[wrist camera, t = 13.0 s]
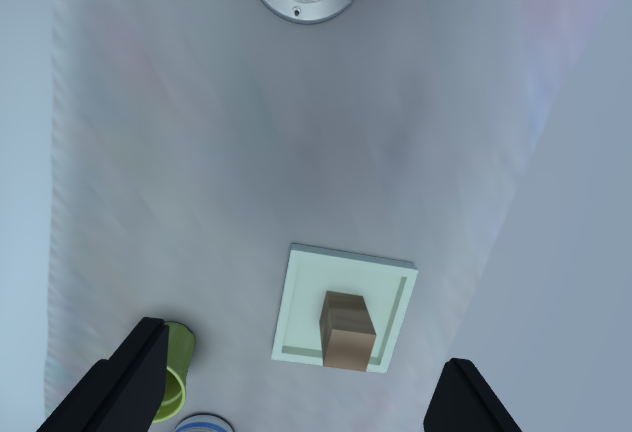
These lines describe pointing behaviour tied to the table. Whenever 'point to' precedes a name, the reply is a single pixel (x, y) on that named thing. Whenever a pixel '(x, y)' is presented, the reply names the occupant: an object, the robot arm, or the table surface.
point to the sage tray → (345, 277)
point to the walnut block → (346, 332)
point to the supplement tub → (203, 424)
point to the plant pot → (176, 370)
